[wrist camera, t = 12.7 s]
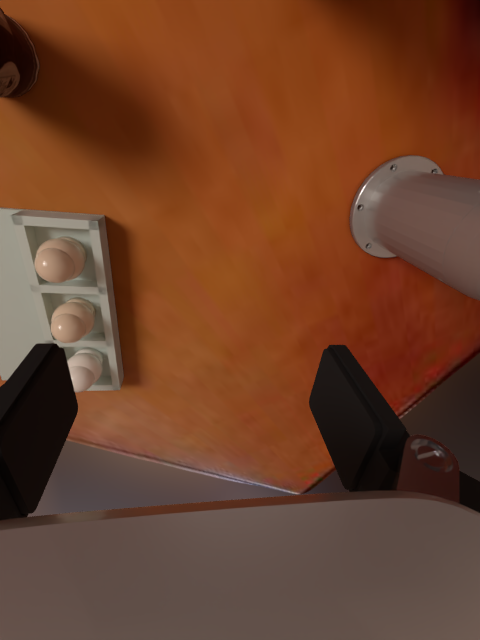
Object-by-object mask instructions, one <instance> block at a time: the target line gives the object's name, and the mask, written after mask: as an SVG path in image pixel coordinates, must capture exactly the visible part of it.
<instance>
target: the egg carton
mask: <svg viewBox="0 0 480 640" xmlns="http://www.w3.org/2000/svg"><path fill="white" fill-rule="evenodd" d="M62 236H69V237H72V238H75V239H77V240H78V241H79V242H81V243H82V244H83V246H84V247H85V249H86V251H87V260H86V262H85V266H84V269H83V271H82V273H81V274H80V275H79V276H78V277H77V278H75V279H73V280H70V281H65V282H62V283H52V282H48V281H46V280H44V279H43V278H41V277H40V276H39V275H38V273H37V272H36V269H35V265H34V262H35V258H36V253H37V250H38V248H39V247H40V245H42V244H43V243H44V242H45V241H47V240H50V239H54V238H58V237H62ZM75 297H80V298H84V299H86V300H88V301H90V302H91V303H92V304H93V305H94V307H95V309H96V316H95V323H94V327H93V329H92V330H91V332H90V333H89V334H88V335H87V336H85V337H83V338H81V339H80V340H79V341H77V342H74V343H62V342H60V341H58V340H57V339H55V338H54V336H53V335H52V333H51V323H52V322H51V319H52V315H53V313H54V311H55V310H56V308H57V307H59V306H60V305H62V304H64V303H66V301H67V300H69V299H71V298H75ZM38 343H55V344H57V345H58V346H59V348H63V349H64V351H65V354H66V358H67V361H68V360H69V359H70V358H71V357H72V356H74V355H75V353H76V352H77V351H78V350H79V349H81V348H85V347H90V348H94V349H96V350H98V351H99V352H100V353H101V354H102V355H103V358H104V362H103V364H102V374H101V376H100V378H99V379H98V381H96V382H95V383H94V384H93V385H92V386H91V387H90V388H89V389H87V390H86V391H90V390H120V388H121V385H122V382H123V378H124V373H123V365H122V356H121V348H120V340H119V331H118V323H117V315H116V306H115V298H114V290H113V281H112V273H111V265H110V256H109V248H108V240H107V231H106V223H105V215H95V214H81V213H67V212H54V211H40V210H26V209H12V208H0V375H1V378H2V380H8V379H9V378H10V376H11V375H12V374H13V372H14V371H15V370H16V369H17V367H18V366H19V365H20V363H21V362H22V361H23V360H24V358H25V357H26V356H27V354H28V353H29V352H30V351H31V349H32V348H33V347H34V346H35V345H36V344H38Z"/></svg>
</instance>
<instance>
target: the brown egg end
mask: <svg viewBox="0 0 480 640" xmlns="http://www.w3.org/2000/svg"><path fill="white" fill-rule="evenodd" d="M86 260H87V251H86V249H85V247H84V246H83V244H82V243H81V242H79V241H78V240H77V239H75V238H72V237H69V236H62V237H58V238H54V239H50V240H47V241H45V242H44V243H43V244H42V245H40V247H39V248H38V250H37V253H36V258H35V262H34V265H35V269H36V272H37V273H38V275H39V276H40V277H41V278H43V279H44V280H46V281H48V282H52V283H62V282H65V281H70V280H73V279H75V278H77V277H78V276H79V275H80V274H81V273H82V271H83V269H84V266H85V262H86Z"/></svg>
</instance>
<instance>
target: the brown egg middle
mask: <svg viewBox="0 0 480 640" xmlns="http://www.w3.org/2000/svg"><path fill="white" fill-rule="evenodd" d="M95 316H96V309H95V307H94V305H93V304H92V303H91V302H90V301H88V300H86V299H84V298H80V297H75V298H71V299H69V300H67V301H66V303H64V304H62V305H60V306H59V307H57V308H56V310H55V311H54V313H53V315H52V319H51V322H52V323H51V333H52V335H53V336H54V338H55V339H57V340H58V341H60V342H62V343H74V342H77V341H79V340H80V339H81V338H83V337H85V336H87V335H88V334H89V333H90V332H91V330H92V329H93V327H94V323H95Z"/></svg>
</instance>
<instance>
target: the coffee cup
mask: <svg viewBox="0 0 480 640" xmlns="http://www.w3.org/2000/svg"><path fill="white" fill-rule="evenodd" d="M38 70H39V60H38V57H37V55H36V53H35V47H34V45H33V43H32V42H31V40H30V39H29V36H28V34H27V33H26V32H25V31H24V29H23V28H22V27H21V26H20V25H19V24H18V23H17V22H16V21H15V20H14V19H12V18H11V17H9V16H7V15H5V14H4V12H3V11H2V9H1V8H0V97H19V96H20V95H23V94H25V93H26V92H28V91H29V90H30V89H31V87H32V86H33V84H34V83H35V82H36V80H37V74H38Z"/></svg>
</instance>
